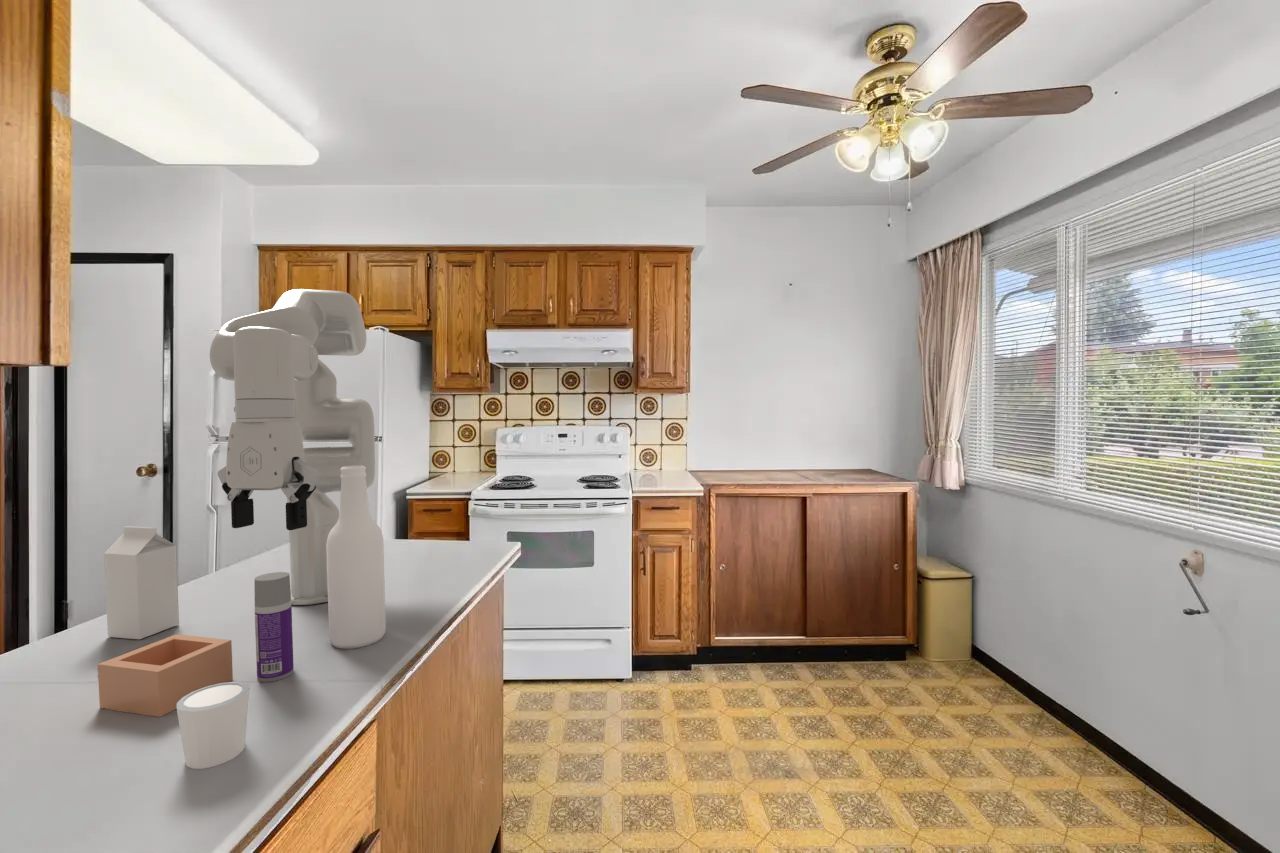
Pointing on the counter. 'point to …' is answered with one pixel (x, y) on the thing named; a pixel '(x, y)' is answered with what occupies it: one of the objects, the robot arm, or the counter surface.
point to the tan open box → (163, 673)
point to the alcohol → (355, 568)
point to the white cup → (213, 723)
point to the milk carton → (141, 584)
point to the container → (273, 626)
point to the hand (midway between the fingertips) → (269, 527)
